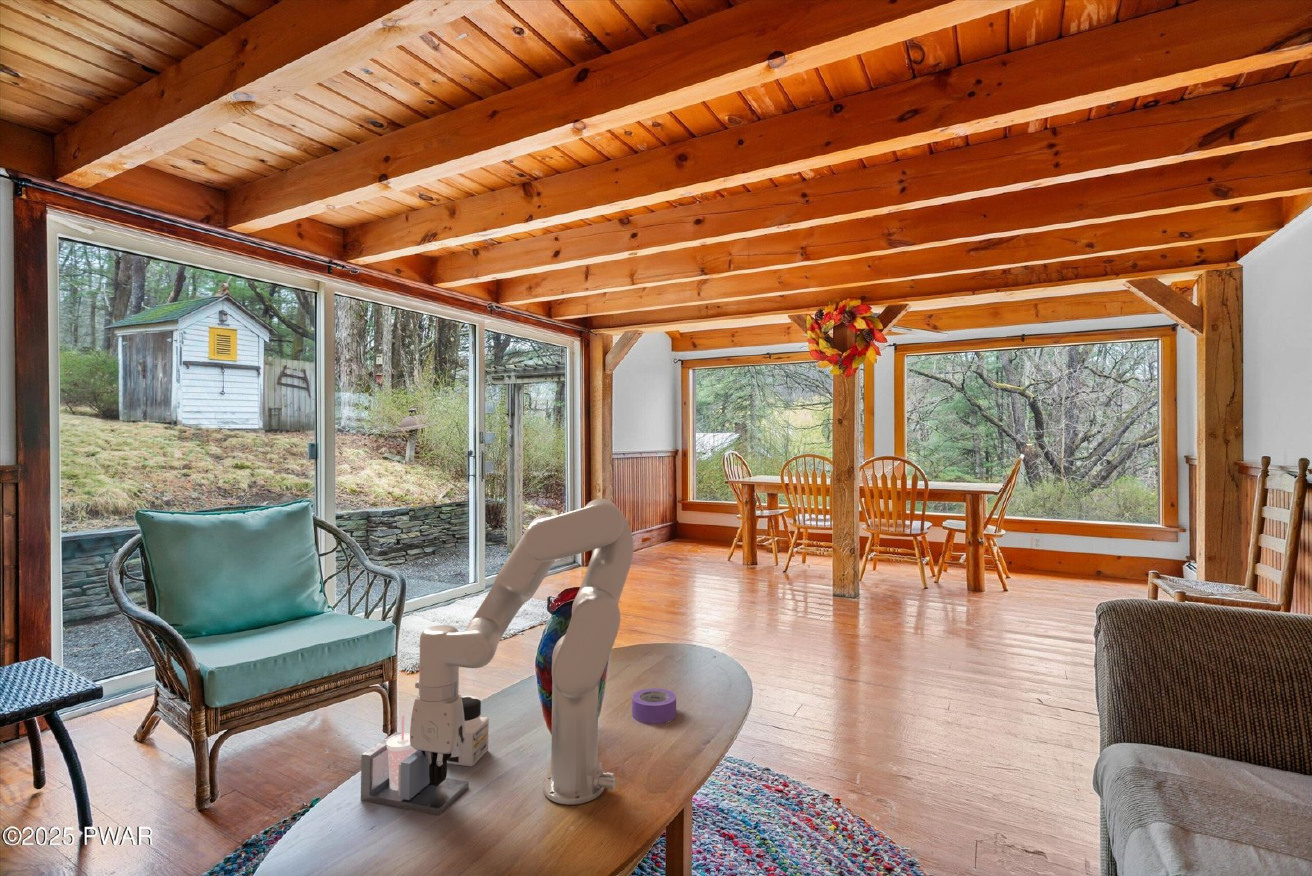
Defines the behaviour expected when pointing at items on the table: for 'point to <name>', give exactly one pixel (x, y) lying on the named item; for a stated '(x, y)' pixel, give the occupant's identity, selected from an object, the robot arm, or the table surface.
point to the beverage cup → (398, 754)
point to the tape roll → (654, 706)
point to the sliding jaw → (413, 775)
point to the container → (472, 733)
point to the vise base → (379, 790)
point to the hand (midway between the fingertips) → (437, 782)
